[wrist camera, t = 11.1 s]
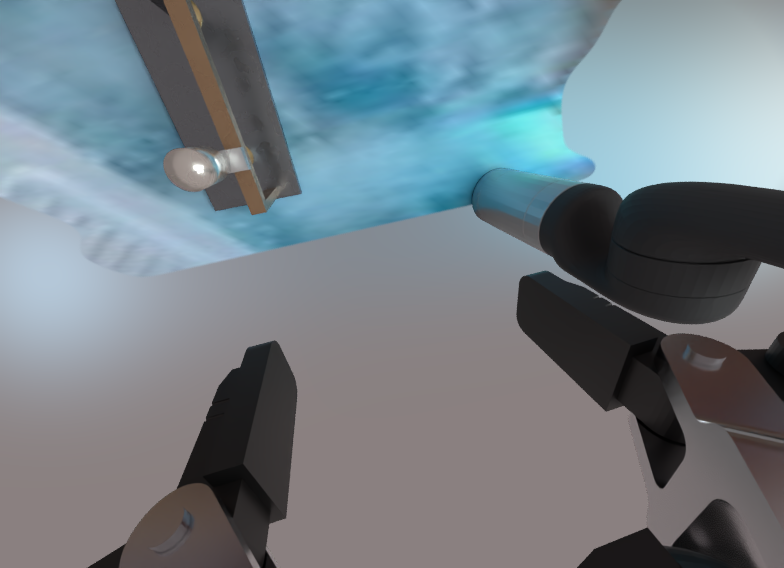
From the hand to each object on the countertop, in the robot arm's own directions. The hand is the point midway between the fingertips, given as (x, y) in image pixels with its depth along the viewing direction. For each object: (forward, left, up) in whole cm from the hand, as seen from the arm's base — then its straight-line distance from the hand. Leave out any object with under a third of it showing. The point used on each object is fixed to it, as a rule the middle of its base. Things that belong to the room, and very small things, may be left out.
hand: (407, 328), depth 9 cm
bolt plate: (+12, -10, -38) cm, 41 cm away
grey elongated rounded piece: (+11, -5, -36) cm, 38 cm away
